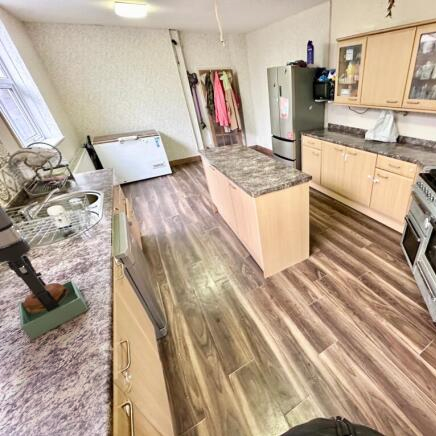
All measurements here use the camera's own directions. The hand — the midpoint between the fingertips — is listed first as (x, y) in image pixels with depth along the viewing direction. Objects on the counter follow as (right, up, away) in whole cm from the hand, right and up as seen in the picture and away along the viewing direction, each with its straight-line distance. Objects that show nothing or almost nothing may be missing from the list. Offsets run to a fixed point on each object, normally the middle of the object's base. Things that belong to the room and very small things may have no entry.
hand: (49, 301), depth 74 cm
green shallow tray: (0, -5, +3) cm, 5 cm away
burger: (0, 0, 0) cm, 0 cm away
